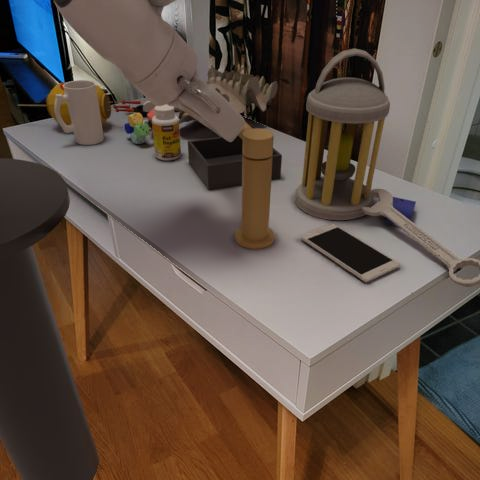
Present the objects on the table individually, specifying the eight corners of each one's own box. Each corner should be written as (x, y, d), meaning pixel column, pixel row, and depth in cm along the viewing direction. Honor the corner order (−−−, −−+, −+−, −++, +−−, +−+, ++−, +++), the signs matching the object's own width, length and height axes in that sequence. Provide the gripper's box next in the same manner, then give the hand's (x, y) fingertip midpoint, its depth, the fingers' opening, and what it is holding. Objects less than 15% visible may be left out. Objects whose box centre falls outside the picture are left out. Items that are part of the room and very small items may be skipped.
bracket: (408, 227, 82) (412, 214, 81) (380, 221, 83) (384, 208, 82) (414, 205, 89) (418, 192, 87) (388, 200, 90) (392, 187, 89)
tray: (208, 190, 93) (207, 166, 90) (188, 163, 102) (187, 141, 99) (280, 178, 97) (282, 155, 94) (255, 154, 107) (256, 132, 103)
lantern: (300, 220, 84) (316, 61, 68) (290, 184, 95) (302, 39, 78) (381, 219, 84) (416, 61, 68) (362, 183, 95) (389, 39, 79)
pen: (186, 111, 128) (186, 107, 127) (123, 113, 125) (122, 109, 124) (186, 109, 129) (186, 104, 128) (122, 110, 126) (122, 106, 125)
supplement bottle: (163, 163, 102) (158, 113, 95) (151, 155, 106) (145, 105, 99) (186, 157, 105) (182, 108, 98) (173, 149, 108) (169, 101, 101)
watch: (134, 100, 122) (134, 111, 125) (137, 113, 120) (137, 125, 123) (164, 99, 124) (163, 110, 127) (168, 112, 122) (167, 124, 125)
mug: (96, 132, 115) (86, 78, 108) (110, 141, 112) (101, 85, 104) (56, 142, 110) (42, 86, 103) (69, 151, 107) (56, 93, 99)
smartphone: (333, 222, 82) (401, 264, 73) (332, 226, 83) (401, 267, 73) (299, 235, 79) (366, 280, 70) (298, 239, 79) (366, 284, 70)
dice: (125, 137, 113) (121, 108, 109) (135, 135, 114) (131, 106, 110) (141, 148, 108) (137, 118, 104) (151, 145, 109) (148, 116, 105)
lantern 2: (148, 117, 121) (32, 115, 123) (142, 76, 114) (18, 75, 116) (139, 136, 114) (16, 134, 116) (132, 94, 107) (1, 92, 109)
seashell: (238, 102, 134) (248, 44, 123) (283, 134, 126) (299, 74, 115) (152, 119, 118) (155, 54, 107) (197, 156, 110) (206, 90, 100)
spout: (276, 169, 71) (278, 137, 68) (248, 173, 69) (248, 140, 66) (226, 116, 88) (226, 89, 85) (203, 119, 87) (201, 91, 84)
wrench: (353, 205, 85) (353, 197, 83) (378, 188, 85) (378, 180, 84) (465, 297, 71) (466, 290, 69) (494, 276, 71) (496, 268, 69)
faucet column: (243, 252, 77) (245, 166, 67) (229, 232, 81) (229, 150, 72) (280, 244, 78) (286, 160, 69) (264, 225, 83) (268, 144, 74)
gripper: (214, 67, 58) (276, 138, 68) (152, 37, 72) (211, 99, 82) (182, 110, 59) (248, 173, 70) (126, 72, 73) (188, 130, 83)
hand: (227, 133), depth 76 cm, fingers closed
